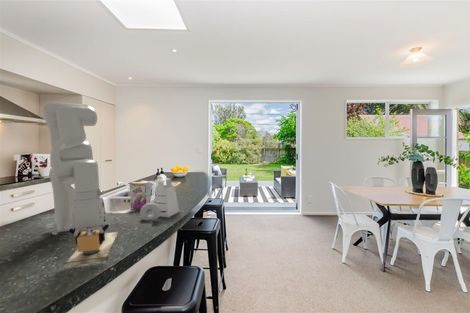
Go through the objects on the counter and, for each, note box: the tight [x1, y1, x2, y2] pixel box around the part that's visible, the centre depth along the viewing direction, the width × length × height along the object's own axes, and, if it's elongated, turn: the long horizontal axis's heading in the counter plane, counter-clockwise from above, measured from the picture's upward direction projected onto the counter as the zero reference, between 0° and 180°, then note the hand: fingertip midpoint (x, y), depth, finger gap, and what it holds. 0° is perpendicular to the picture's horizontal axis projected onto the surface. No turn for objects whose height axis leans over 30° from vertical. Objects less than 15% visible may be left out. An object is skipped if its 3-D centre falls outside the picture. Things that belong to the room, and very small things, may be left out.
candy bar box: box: [129, 181, 151, 210], centre depth 153 cm, size 11×5×16 cm, turn 77°
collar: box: [76, 229, 102, 252], centre depth 88 cm, size 6×6×5 cm
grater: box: [152, 177, 180, 218], centre depth 140 cm, size 10×10×20 cm
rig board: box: [66, 231, 119, 267], centre depth 95 cm, size 12×25×2 cm, turn 17°
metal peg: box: [83, 227, 99, 256], centre depth 88 cm, size 5×5×10 cm
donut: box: [139, 202, 160, 222], centre depth 126 cm, size 10×4×10 cm, turn 106°
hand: (90, 243), depth 88 cm, fingers closed on collar, 6 cm apart
